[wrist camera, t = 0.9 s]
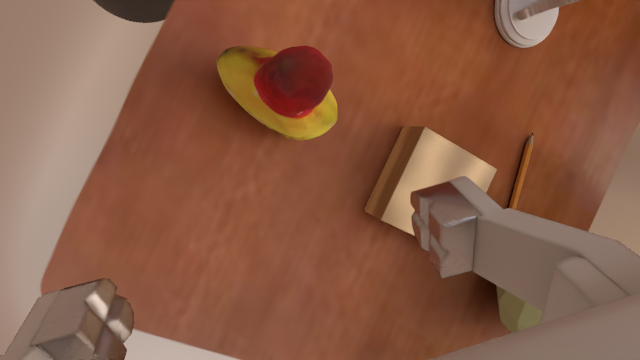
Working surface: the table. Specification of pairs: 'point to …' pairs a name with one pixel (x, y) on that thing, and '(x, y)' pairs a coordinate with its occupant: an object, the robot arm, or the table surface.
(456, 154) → the birch block
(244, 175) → the table surface
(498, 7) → the chess piece
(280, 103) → the bottle
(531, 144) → the pencil
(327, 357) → the table surface
